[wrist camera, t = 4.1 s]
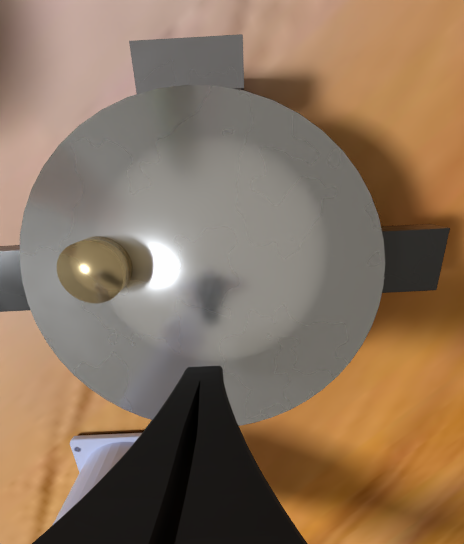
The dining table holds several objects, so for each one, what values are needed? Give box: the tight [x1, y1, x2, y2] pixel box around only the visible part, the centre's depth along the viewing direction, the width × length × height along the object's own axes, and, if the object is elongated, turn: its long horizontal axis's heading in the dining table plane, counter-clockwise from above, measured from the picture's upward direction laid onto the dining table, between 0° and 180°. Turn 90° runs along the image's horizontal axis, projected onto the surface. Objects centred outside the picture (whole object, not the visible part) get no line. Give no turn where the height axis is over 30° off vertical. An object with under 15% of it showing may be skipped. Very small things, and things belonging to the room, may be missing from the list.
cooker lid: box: [20, 85, 385, 426], centre depth 11 cm, size 15×15×2 cm
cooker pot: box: [0, 35, 450, 312], centre depth 14 cm, size 16×22×4 cm
